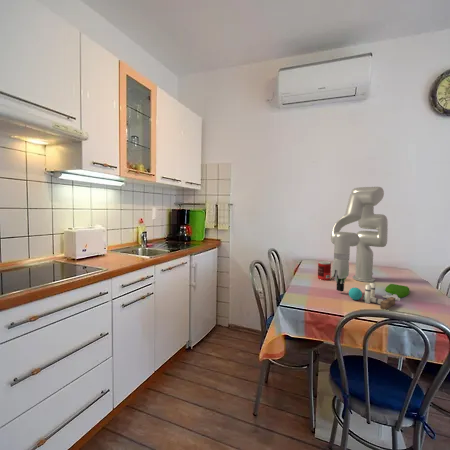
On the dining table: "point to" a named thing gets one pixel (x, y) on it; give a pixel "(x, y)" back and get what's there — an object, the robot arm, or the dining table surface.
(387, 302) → the brown wooden bar
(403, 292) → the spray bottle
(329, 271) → the canned food
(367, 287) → the back pin near
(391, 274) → the dining table surface
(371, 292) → the back pin far
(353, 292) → the ball
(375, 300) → the front pin
